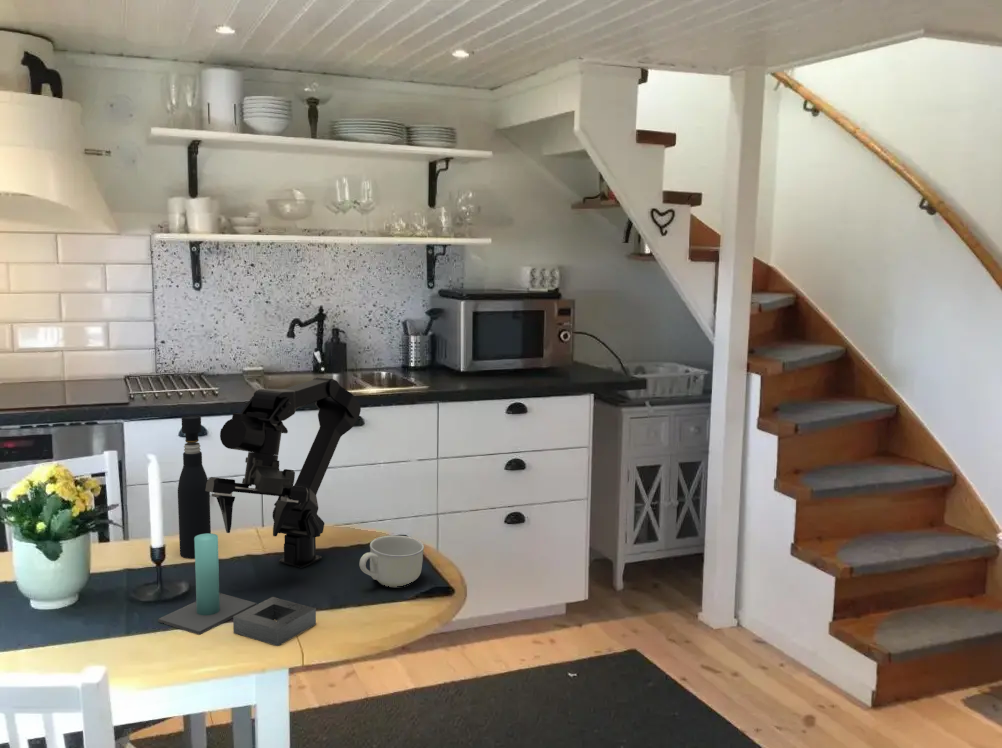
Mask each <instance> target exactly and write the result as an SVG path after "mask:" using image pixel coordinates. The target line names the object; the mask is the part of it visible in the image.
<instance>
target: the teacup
mask: <svg viewBox="0 0 1002 748" xmlns="http://www.w3.org/2000/svg"><path fill="white" fill-rule="evenodd" d="M424 545H425V544H424V543H423V541H421V540H420V539H417V538H414V537H412V536H406V535H384V536H379V537H376V538H375V539H373V540H371V542H370V543H369V549H370V551H369V552H365V553H364V554H363V555H362V556H361V557H360V558H359V563H358V564H359V568H360V570H361V571H362V572H363V573H364V574H366V575H368V576H370V577H371V578H372V580H376V581H377V582H378V583H379V584H380V585H382V586H384V585H385V586H384V587H388V586H389V588H398V587H397V586H403V585H406V584H409V583H411V582H412V583H413V582H414V581H416V580H417V579H418V578H419V577H420V575H421V573H422V568H423V559H424V549H425V546H424ZM368 560H369V569H368V568H367V566H366V565H367V561H368ZM412 583H411V584H412ZM409 585H410V584H409Z"/></svg>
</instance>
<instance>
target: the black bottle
mask: <svg viewBox="0 0 1002 748" xmlns="http://www.w3.org/2000/svg"><path fill="white" fill-rule="evenodd" d="M181 433H183V434H185V443H184V446H183V451H184V452H183V453H182V461H183V462H182V463H183V466H182V469H181V473H180V475H179V479H178V485H177V509H178V511H177V512H178V536H179V537H178V538H179V556H180V557H181V558H184V559H191V560H192V559H194V560H195V540H194V538H195V536H197V535H200V534H206V533H211V534H212V532H211V528H212V527H211V496H210V494H211V492H208V491H205V490H206V483H207V481H208V479H209V478H208V476H207V473H206V471H205V467H204V466H203V454H202V453H203V452H202V450H201V445H200V444H201V443H200V442H199V441H200V440H199V433H202V416H201V415H198V414H188V415H183V416H181Z"/></svg>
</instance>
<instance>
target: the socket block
mask: <svg viewBox="0 0 1002 748" xmlns="http://www.w3.org/2000/svg"><path fill="white" fill-rule="evenodd" d="M232 619H233V621H232V623H233V628H232V629H233V631H232V632H233V634H236V635H239V636H243V637H246V638H249V639H253V640H256V641H259V642H263V643H266V644H269V645H273V646H277V647H279V646H280V645H283V644H284V643H286V642H288V641H289V640H291V639H293V638H295V637H296V636H298V635H300V634H302V633H303V632H305V631H307V630H308V629H310V628H312V627H314V626H316V625H317V608H316V607H312V606H308V605H305V604H301V603H297V602H293V601H289V600H286V599H282V598H278V597H276V596H270V597H269V598H267V599H265V600H263V601H261V602H260V603H258V604H257V603H256V605H255V606H253V607H251V608H249V609H247V610H245V611H243V612H241V613H239V614H237V615H235V616H233V618H232Z"/></svg>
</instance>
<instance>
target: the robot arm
mask: <svg viewBox="0 0 1002 748" xmlns="http://www.w3.org/2000/svg"><path fill="white" fill-rule="evenodd" d="M312 403H314V405H315V407H316V408H317V409H318V413H317V418H318V423H319V428H318V431H317V432H316V435H315V437H314V440H313V442H312V444H311V447H310V448H309V452H308V453H307V456H306V458H305V460H304V462H303V465H302V467H301V469H300V472H299V474H298V477H297V478H296V480H295V477H296V472H295V471H294V469H286V468H284V469H283V470H280V460H279V453H280V446H281V441H282V440H281V439H282V434H288V433H289V431H288V428H287V427H286V426H285V425H284V423H283V421H286V420H288V419H289V418H291V417H292V416H294V415H295V414H296V410H297V409H299V408H302V407H304V406H307V405H310V404H312ZM360 414H361V404H360V403H359V401H358V399H357V398H356V397H355V396H354V394H353V393H351V392H350V391H348V390H347V389H346V388H344V387H343V386H341V385H340V384H339V382H338V381H337V380H336V379H334V378H331V377H330V378H328V377H321V376H319V377H318V376H317V377H316V378H315V377H314V378H312V380H308V381H305V382H303V383H298V384H295V385H292V386H289V387H286V388H259V389H257V390H255V391H254V393H253V396H252V397H251V398H250V399H249V401H248V402H247V403H246V405H245V406H244V408H243V409H242V410H241V411H240V413H239V412H233V413H232V417H231V418H230V419H229V420H227V421H225V423H224V424H223V426H222V428H220V432H219V439H220V441H221V444H222V445H223V446H224V447H225V448H227V449H229V450H235V451H242V452H248V453H247V456H246V457H245V460H244V462H245V463H246V466H245V473H244V478H242V482H236V480H235V479H232V478H231V479H230V478H224V477H215V476H214V477H213V476H211V477H209V478H207V479H208V481H207V483H206V490H205V491H208V492H210V493H211V497H213V498H216V501H217V503H218V506H219V508H220V511H221V516H222V519H223V524H224V529H225V532H226V533H227V534H230V533H231V528H232V521H233V510H234V509H233V507H234V502H235V499H236V496H234V495H233V493H244V494H252V495H253V494H254V495H264V496H272V497H273V496H275V497H277V500H276V501H275V503H273V504H274V505H273V506H274V508H273V510H272V519H273V527H272V537H275V538H276V537H277V536H278V534H283V536H284V537H283V538H284V543H283V557H282V558H280V559H279V560H278V563H281V564H283V565H284V564H285V565H289V566H293V567H297V568H300V567H301V569H302V568H303V567H304V568H306V567H308V566H309V565H312V564H314V563H316V562H318V561H320V560H322V556H321V555H317V553H316V550H317V548H316V546H317V545H316V540H317V539H316V538H319V537H321V534H323V533H324V527H325V521H324V520H323V519H322V518H321V517H320V516H319V515H318V511H319V503H318V498H317V494H318V493H319V489H320V487H321V484H322V482H323V479H324V477H325V475H326V472H327V470H328V468H329V465H330V463H331V461H332V457H333V456H334V454H335V451H336V448H338V447H337V446H338V444H339V443H340V439H341V438H342V436H343V435H345V434H347V432H349V431H350V430H352V429H353V427H354V426H355V424H356V422H357V421H358V418H359V417H360ZM252 486H254V488H253V487H252Z"/></svg>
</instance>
